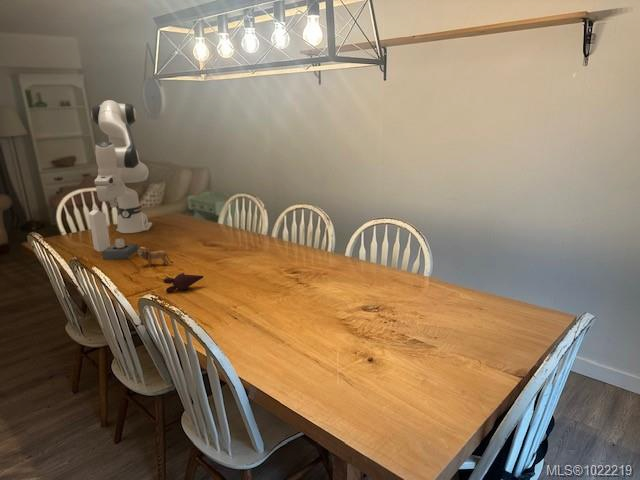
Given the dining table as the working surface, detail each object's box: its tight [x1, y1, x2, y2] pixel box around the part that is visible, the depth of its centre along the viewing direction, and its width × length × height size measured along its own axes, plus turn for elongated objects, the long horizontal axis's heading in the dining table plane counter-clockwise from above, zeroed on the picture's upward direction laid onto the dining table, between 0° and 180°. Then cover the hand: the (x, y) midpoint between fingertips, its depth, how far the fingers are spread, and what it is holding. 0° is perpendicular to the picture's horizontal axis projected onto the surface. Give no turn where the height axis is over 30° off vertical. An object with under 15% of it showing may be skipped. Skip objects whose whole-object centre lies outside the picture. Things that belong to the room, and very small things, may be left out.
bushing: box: [114, 237, 126, 249], centre depth 220 cm, size 4×4×8 cm
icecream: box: [162, 272, 205, 294], centre depth 177 cm, size 7×7×15 cm
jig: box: [101, 243, 139, 260], centre depth 221 cm, size 12×13×4 cm
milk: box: [87, 206, 111, 253], centre depth 228 cm, size 6×6×22 cm
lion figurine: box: [137, 246, 174, 267], centre depth 205 cm, size 15×5×9 cm, turn 100°
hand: (114, 207), depth 215 cm, fingers closed
